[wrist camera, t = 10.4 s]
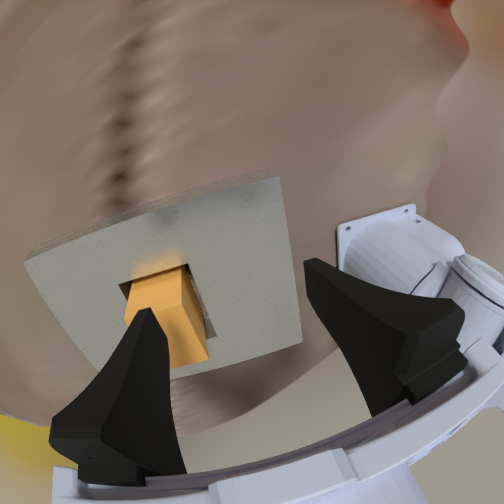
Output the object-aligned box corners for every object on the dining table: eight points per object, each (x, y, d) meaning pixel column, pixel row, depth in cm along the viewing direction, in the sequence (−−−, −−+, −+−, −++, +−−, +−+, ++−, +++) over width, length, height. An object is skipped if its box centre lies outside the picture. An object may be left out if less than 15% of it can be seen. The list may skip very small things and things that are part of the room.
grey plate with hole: (267, 168, 19) (278, 175, 17) (293, 325, 27) (302, 341, 25) (35, 247, 17) (22, 262, 15) (117, 371, 25) (114, 389, 23)
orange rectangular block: (181, 256, 21) (181, 304, 16) (201, 308, 24) (209, 359, 18) (135, 270, 20) (123, 319, 15) (160, 319, 23) (159, 371, 18)
